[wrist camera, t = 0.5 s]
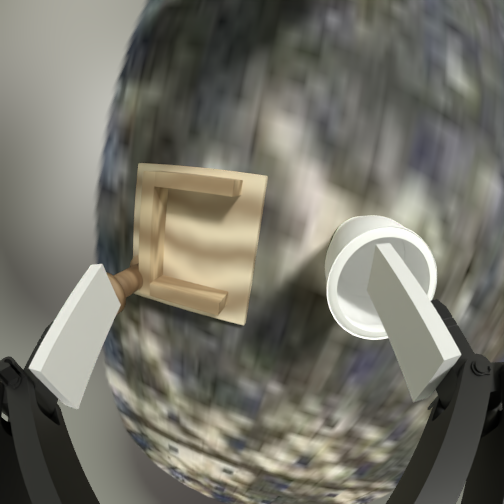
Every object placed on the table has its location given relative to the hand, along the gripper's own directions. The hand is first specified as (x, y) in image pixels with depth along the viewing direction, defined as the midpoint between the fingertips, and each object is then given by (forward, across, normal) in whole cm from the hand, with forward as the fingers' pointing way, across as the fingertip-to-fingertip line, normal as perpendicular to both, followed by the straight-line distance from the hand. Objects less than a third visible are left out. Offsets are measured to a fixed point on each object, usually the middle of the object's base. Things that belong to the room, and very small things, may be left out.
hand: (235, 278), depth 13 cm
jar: (+20, +15, -12) cm, 28 cm away
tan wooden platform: (+25, -9, -12) cm, 30 cm away
